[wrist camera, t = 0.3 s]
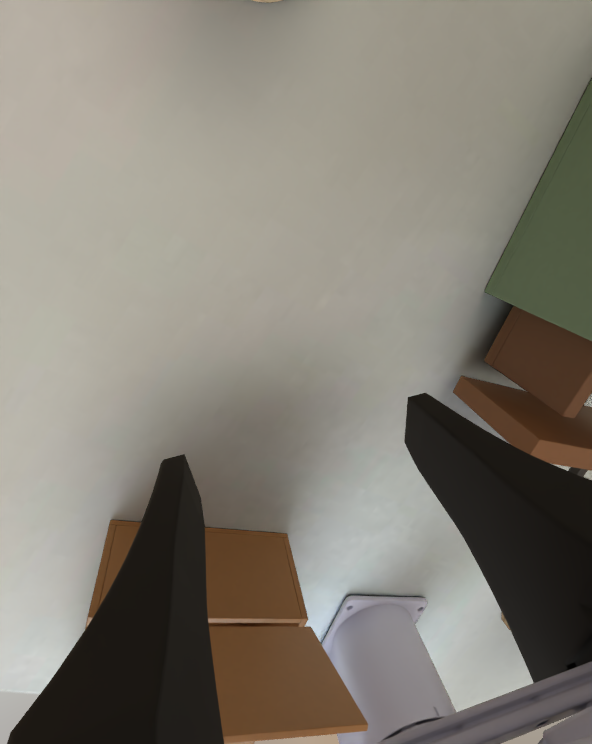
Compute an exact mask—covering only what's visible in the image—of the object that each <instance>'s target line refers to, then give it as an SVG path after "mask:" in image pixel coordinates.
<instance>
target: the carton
mask: <svg viewBox="0 0 592 744" xmlns="http://www.w3.org/2000/svg"><path fill="white" fill-rule="evenodd" d="M140 524H141V522H130V521H118V520H110V524H109V528H108V533H107V537H106V541H105V545H104V550H103V554H102V558H101V562H100V567H99V571H98V575H97V579H96V584H95V588H94V592H93V596H92V601H91V605H90V609H89V613H88V618H87V623H86V627H87V626H88V625H89V623H90V622H91V620H92V618H93V617H94V615H95V613H96V612H97V610H98V608H99V606H100V605H101V603H102V601H103V600H104V598H105V596H106V595H107V593H108V591H109V589H110V587H111V585H112V584H113V582H114V580H115V578H116V576H117V574H118V572H119V570H120V568H121V566H122V564H123V562H124V560H125V558H126V556H127V554H128V552H129V549H130V547H131V545H132V543H133V541H134V538H135V536H136V534H137V532H138V529H139V527H140ZM205 547H206V588H207V613H208V624H209V626H218V627H304V626H305V624H306V622H307V620H308V617H307V613H306V609H305V604H304V600H303V596H302V592H301V588H300V584H299V580H298V576H297V572H296V568H295V564H294V560H293V556H292V552H291V548H290V544H289V540H288V535H287V534H284V533H271V532H258V531H246V530H233V529H220V528H207V527H205ZM85 630H86V628H85ZM254 742H255V741H251V742H239V743H228V744H254Z"/></svg>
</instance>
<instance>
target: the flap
mask: <svg viewBox="0 0 592 744" xmlns="http://www.w3.org/2000/svg"><path fill="white" fill-rule="evenodd" d="M86 628H87V627H86ZM209 632H210V641H211V649H212V657H213V665H214V673H215V681H216V689H217V696H218V703H219V710H220V718H221V725H222V732H223V739H224V744H228V743H239V742H251V741H260V740H261V741H262V740H273V739H284V738H295V737H306V736H317V735H328V734H340V733H351V732H362V731H367V729H368V723H367V721H366V719H365V718H364V716H363V714H362V713H361V711H360V709H359V708H358V706H357V704H356V702H355V701H354V699H353V697H352V696H351V694H350V692H349V691H348V689H347V687H346V686H345V684H344V682H343V680H342V679H341V677H340V675H339V674H338V672H337V670H336V669H335V667H334V665H333V664H332V662H331V660H330V658H329V657H328V655H327V653H326V652H325V650H324V648H323V647H322V645H321V643H320V642H319V640H318V638H317V636H316V635H315V633H314V631H313V630H312V628H311V627H218V626H209Z"/></svg>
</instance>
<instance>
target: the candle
mask: <svg viewBox="0 0 592 744" xmlns="http://www.w3.org/2000/svg"><path fill="white" fill-rule="evenodd" d="M253 1H257V2H266V3H269V2H278V1H281V0H253Z"/></svg>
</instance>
